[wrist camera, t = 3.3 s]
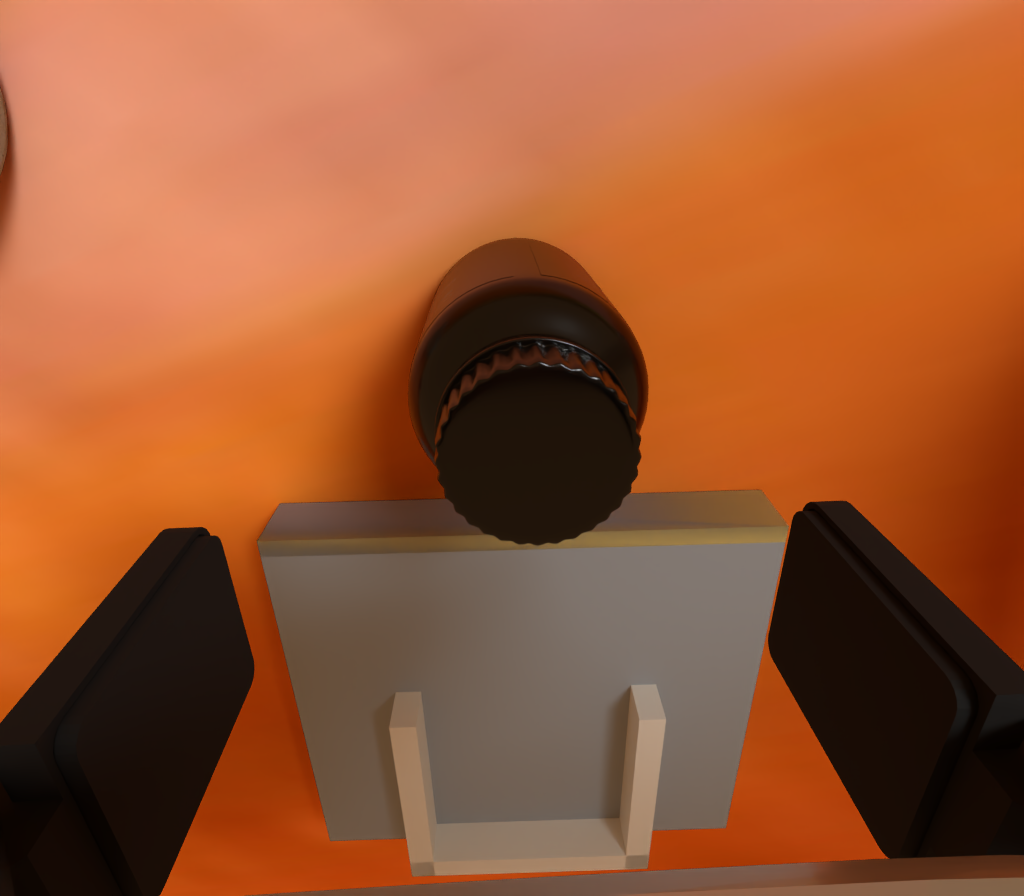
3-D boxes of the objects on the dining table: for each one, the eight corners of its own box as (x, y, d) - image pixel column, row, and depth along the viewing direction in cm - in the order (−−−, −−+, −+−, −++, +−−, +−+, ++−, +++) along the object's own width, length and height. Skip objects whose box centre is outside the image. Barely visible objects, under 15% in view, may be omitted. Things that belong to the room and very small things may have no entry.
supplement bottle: (491, 431, 27) (486, 623, 16) (397, 296, 24) (316, 418, 13) (633, 350, 25) (732, 502, 15) (549, 197, 23) (595, 245, 12)
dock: (280, 503, 28) (238, 571, 24) (761, 489, 28) (810, 554, 24) (342, 790, 37) (320, 879, 33) (709, 778, 37) (738, 865, 33)
